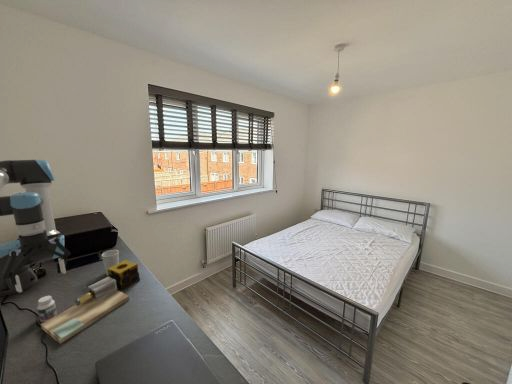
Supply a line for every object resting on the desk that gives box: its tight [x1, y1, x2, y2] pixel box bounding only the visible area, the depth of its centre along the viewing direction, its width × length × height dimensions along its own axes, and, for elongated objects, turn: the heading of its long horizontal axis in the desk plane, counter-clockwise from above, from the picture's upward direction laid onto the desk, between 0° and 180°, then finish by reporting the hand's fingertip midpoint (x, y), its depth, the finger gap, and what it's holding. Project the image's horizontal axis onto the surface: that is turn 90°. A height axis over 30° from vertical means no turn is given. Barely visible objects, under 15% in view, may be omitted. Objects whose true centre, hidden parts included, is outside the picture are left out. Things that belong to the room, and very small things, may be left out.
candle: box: [107, 259, 141, 291], centre depth 111 cm, size 10×10×10 cm
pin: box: [74, 291, 95, 306], centre depth 94 cm, size 3×8×3 cm, turn 154°
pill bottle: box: [36, 295, 58, 323], centre depth 88 cm, size 5×5×9 cm
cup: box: [101, 249, 120, 276], centre depth 120 cm, size 8×8×12 cm
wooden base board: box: [40, 276, 130, 345], centre depth 91 cm, size 16×26×8 cm, turn 154°
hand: (43, 281), depth 86 cm, fingers open, 13 cm apart
